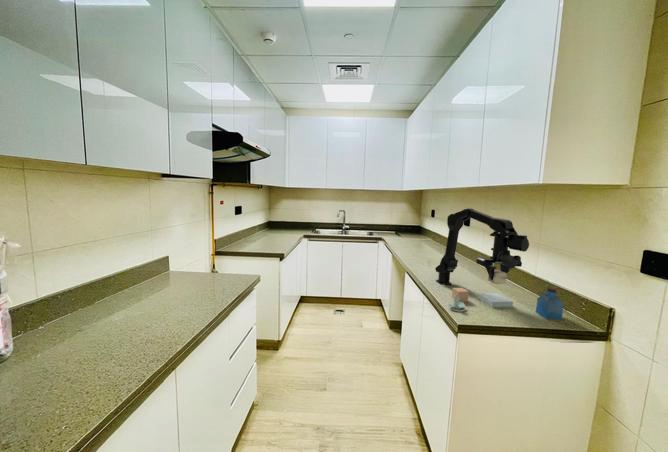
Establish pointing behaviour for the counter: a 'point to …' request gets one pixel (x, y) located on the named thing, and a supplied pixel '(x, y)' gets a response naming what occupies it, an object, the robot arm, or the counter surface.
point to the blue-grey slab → (495, 300)
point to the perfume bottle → (550, 305)
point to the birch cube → (498, 277)
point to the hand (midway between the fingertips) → (496, 280)
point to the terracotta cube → (460, 294)
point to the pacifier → (456, 302)
